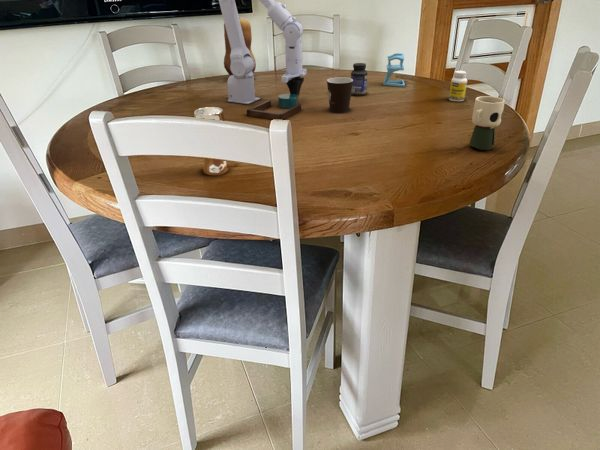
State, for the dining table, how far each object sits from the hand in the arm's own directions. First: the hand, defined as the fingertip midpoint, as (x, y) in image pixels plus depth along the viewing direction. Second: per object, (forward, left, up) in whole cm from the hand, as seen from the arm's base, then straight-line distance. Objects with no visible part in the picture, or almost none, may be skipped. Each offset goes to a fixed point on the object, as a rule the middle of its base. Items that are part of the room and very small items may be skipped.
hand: (295, 98), depth 166 cm
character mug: (+68, -18, -2) cm, 70 cm away
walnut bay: (0, -13, -1) cm, 13 cm away
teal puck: (0, -5, -1) cm, 5 cm away
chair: (+23, +41, -2) cm, 47 cm away
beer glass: (+13, -62, -2) cm, 64 cm away
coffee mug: (+18, 0, -2) cm, 18 cm away
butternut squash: (-40, +23, -2) cm, 46 cm away
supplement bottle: (+51, +28, -2) cm, 58 cm away
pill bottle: (+16, +21, -2) cm, 26 cm away
